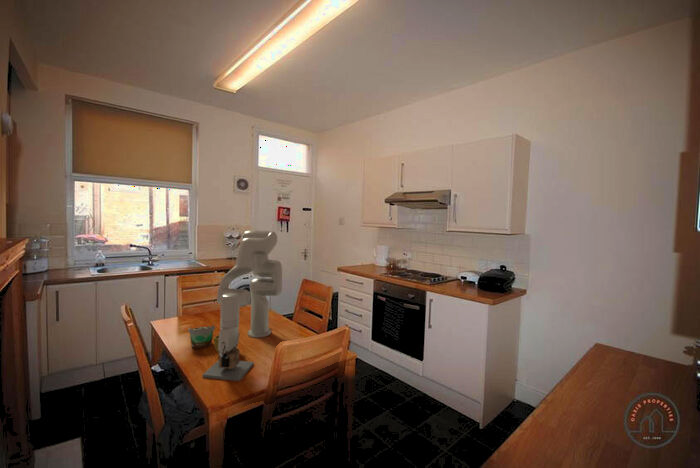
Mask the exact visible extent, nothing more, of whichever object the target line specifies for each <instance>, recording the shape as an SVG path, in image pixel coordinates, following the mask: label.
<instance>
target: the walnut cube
mask: <svg viewBox="0 0 700 468" xmlns="http://www.w3.org/2000/svg"><path fill="white" fill-rule="evenodd" d="M225 350H227V349H225ZM224 354H227V352H224ZM228 358H229V367H222V366H221V361H222V358H221V356H220V355H219V354H218V360H219V368H229V369H233V368H234V367H235V366H236V365H237V364H238V363H239V361H240V348H237V349H234V348H233V349H232V350H230V351H229V357H228Z"/></svg>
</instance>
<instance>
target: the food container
mask: <svg viewBox="0 0 700 468" xmlns="http://www.w3.org/2000/svg"><path fill="white" fill-rule="evenodd" d="M215 329H216V327H215V324H213V325H211V326H198V327H194V328H191V327H189V328H188V330H187V331H188V333H189V335H190V337H189V338H190V343H191V348H193V349H196V350H203V349H206V348H209V347H211V346H212V344H213V339H214V337H213V336H214V331H215Z"/></svg>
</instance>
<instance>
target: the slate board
mask: <svg viewBox="0 0 700 468" xmlns="http://www.w3.org/2000/svg"><path fill="white" fill-rule="evenodd" d="M254 364H255V363H254V361H246V360H239V363H238V364H237V365H236V366H235V367H234V368H233V369H229V368H219V359H218V360H217V361H216V362H214V364H213V365H211V366H210V367H209V368H208V369H207V370H205V372H204V373H203V374H202V378H205V379H206V378H207V379H214V380H215V379H216V380H224V381H232V382H233V381H235V382H240V381H242V379H243V378H244V377H245V376H246V374H247V373H248V372H249V371H250V369H251V368H252V367H253V366H254Z"/></svg>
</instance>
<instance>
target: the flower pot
mask: <svg viewBox="0 0 700 468" xmlns="http://www.w3.org/2000/svg"><path fill="white" fill-rule="evenodd" d="M239 335H240V332H239ZM218 341H219V334H217V335H216V336H214V337H213V344H214V348H215V351H216V353H217V354H218V355H219V352H220V351H218Z"/></svg>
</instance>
